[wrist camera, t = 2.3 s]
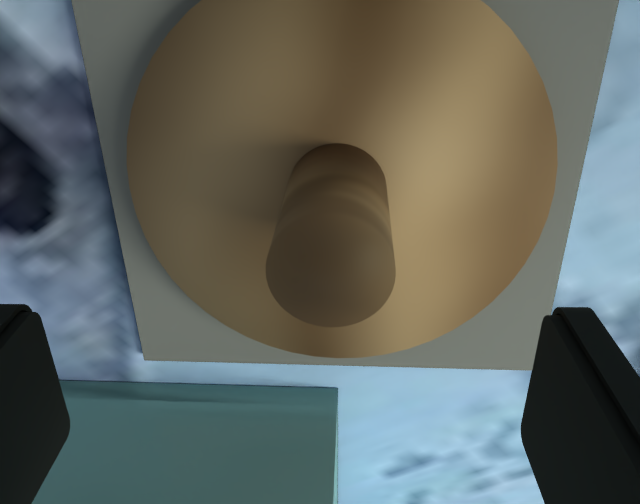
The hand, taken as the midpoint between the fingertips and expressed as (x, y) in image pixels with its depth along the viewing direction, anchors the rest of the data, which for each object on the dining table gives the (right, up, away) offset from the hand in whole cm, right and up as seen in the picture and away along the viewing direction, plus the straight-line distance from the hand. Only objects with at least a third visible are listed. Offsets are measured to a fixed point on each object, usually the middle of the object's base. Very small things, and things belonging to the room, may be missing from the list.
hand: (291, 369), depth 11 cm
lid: (+1, +5, +7) cm, 9 cm away
